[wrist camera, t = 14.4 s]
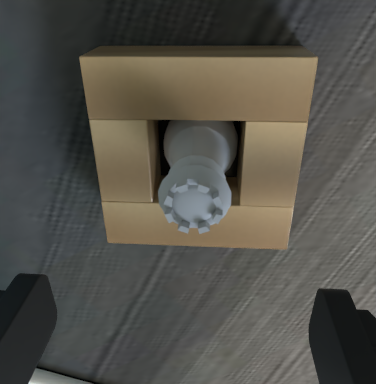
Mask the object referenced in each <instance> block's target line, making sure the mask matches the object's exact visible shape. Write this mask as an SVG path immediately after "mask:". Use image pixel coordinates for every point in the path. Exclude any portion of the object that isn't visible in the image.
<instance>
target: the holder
mask: <svg viewBox="0 0 376 384" xmlns="http://www.w3.org/2000/svg"><path fill="white" fill-rule="evenodd" d="M79 60H80V66H81V73H82V79H83V85H84V92H85V98H86V105H87V111H88V118H89V122H90V129H91V135H92V142H93V148H94V155H95V161H96V168H97V174H98V181H99V187H100V194H101V200H102V209H103V215H104V222H105V228H106V235H107V241H108V243H127V244H153V245H180V246H206V247H232V248H259V249H285V250H286V249H287V246H288V240H289V234H290V228H291V222H292V216H293V210H294V203H295V197H296V191H297V185H298V179H299V173H300V167H301V161H302V155H303V148H304V142H305V136H306V130H307V124H308V118H309V112H310V106H311V100H312V94H313V88H314V81H315V75H316V69H317V63H318V57H317V56H316V55H314V54H313V53H312V52H310V51H309V50H307V49H306V48H305V47H303V46H99V47H97V48H95V49H93V50H91V51H89V52H88V53H86V54H84V55H82V56H80V57H79ZM158 120H214V121H240V135H239V151H238V166H237V177H226V181H227V184H228V186H229V188H230V190H231V206H230V208H229V209H228V211H227V213H226V215H225V216H224V217H223V218H222V219H221V220H220V222H219V224H216V223H215V224H213V225H210V231H208V232H205V233H201V234H199V231H198V228H189V232H188V234H187V233H184V232H181V231H179V230H178V225H179V224H176V223H175V222H171V223H169V222H168V220H167V219H166V217H165V215H164V212H163V210H162V208H161V207H160V205H159V198H158V190H159V188H160V185H161V183H162V180H163V179H164V178H165V177H166V176H167V175H161V166H160V147H159V128H158Z"/></svg>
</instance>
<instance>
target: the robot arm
mask: <svg viewBox="0 0 376 384" xmlns="http://www.w3.org/2000/svg"><path fill="white" fill-rule="evenodd" d="M56 321H57V308H56V304H55V301H54V297H53V294H52V290H51V287H50V283H49V280H48V277H47V276H46V275H44V274H22V273H20V274H18V275H17V276H16V277H15V278H14V279H13V281H12V282H11V284H10V285H9V286H8V288H7V289H6V291H2V290H0V384H29V381H30V379H31V377H32V375H33V373H34V371H35V369H36V367H37V365H38V363H39V360H40V358H41V356H42V354H43V352H44V350H45V348H46V346H47V344H48V342H49V339H50V337H51V335H52V333H53V331H54V329H55V325H56ZM309 343H310V348H311V352H312V356H313V360H314V364H315V368H316V372H317V376H318V380H319V384H376V318H375V317H374V316H373V315H372V314H371V313H370V312H369V311H368V310H356V307H355V305H354V302H353V300H352V298H351V295H350V293H349V292H348V291H347V290H342V289H320V288H319V289H318V291H317V293H316V298H315V302H314V306H313V310H312V314H311V318H310V323H309Z"/></svg>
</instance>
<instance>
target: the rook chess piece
mask: <svg viewBox="0 0 376 384" xmlns="http://www.w3.org/2000/svg"><path fill="white" fill-rule="evenodd" d="M237 142H238V135H237V132H236V129H235V127H234V124H233V122H232V121H214V120H171V121H170V122H169V124H168V126H167V129H166V132H165V134H164V141H163V143H164V155H165V157H166V159H167V161H168V163H169V165H170V167H171V169H170V171H169V173H168V175H167V176H166V177H165V178H164V179H163V180H162V183H161V185H160V188H159V190H158V198H159V205H160V207H161V208H162V210H163V212H164V215H165V217H166V219H167V220H168V222H169V223H171V222H175V223H176V224H179V225H178V230H179V231H181V232H184V233H187V234H188V232H189V228H198V231H199V234H201V233H205V232H208V231H210V225H213V224H215V223H216V224H219V222H220V220H221V219H222V218H223V217H224V216H225V215H226V213H227V211H228V209H229V208H230V206H231V190H230V188H229V186H228V184H227V181H226V177H225V175H224V173H225V172H226V171H227V170H229V169H230V167H231V165H232V163H233V161H234V159H235V157H236V155H237Z"/></svg>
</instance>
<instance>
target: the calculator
mask: <svg viewBox="0 0 376 384" xmlns="http://www.w3.org/2000/svg"><path fill="white" fill-rule="evenodd" d="M29 384H93V383H89V382H85V381H82V380H78V379H74V378H71V377H67V376H64V375H60V374H56V373H53V372H49V371H45V370H41V369H37V368H36V369H35V371H34V373H33V375H32V377H31V379H30V381H29Z"/></svg>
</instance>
